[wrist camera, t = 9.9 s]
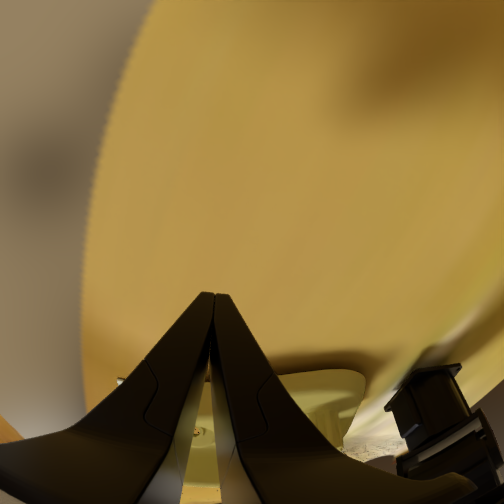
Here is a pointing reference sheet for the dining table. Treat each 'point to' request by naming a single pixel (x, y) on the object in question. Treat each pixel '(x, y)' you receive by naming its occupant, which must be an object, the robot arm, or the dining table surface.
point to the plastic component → (307, 398)
